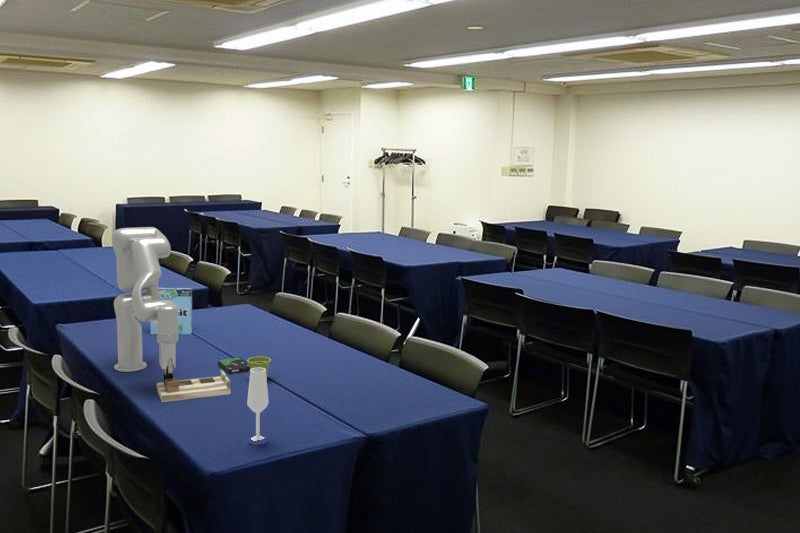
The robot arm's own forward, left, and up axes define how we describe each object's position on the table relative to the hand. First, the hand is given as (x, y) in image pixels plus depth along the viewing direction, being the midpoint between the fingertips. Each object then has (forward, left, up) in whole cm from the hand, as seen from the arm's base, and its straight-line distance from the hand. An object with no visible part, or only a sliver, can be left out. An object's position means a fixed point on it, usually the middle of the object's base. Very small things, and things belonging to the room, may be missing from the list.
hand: (168, 384), depth 256 cm
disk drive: (-22, +30, -4) cm, 37 cm away
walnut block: (+4, +1, -1) cm, 4 cm away
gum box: (-85, +13, -4) cm, 86 cm away
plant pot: (-3, +36, -4) cm, 36 cm away
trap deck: (+1, +9, -4) cm, 10 cm away
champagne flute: (+54, +21, -4) cm, 57 cm away
